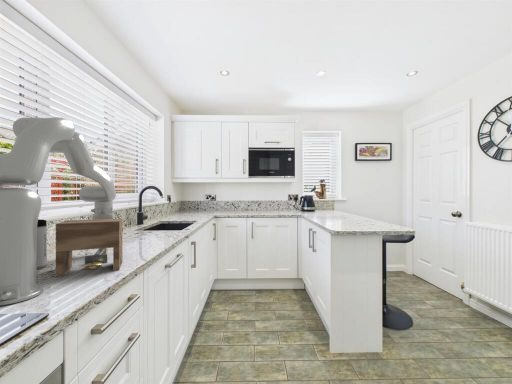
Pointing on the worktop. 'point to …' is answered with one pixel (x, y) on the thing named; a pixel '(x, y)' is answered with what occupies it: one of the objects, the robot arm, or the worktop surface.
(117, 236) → the wooden step stool
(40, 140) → the robot arm
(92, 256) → the scraper
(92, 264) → the puck
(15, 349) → the worktop surface
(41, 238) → the travel mug
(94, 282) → the worktop surface
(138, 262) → the worktop surface
